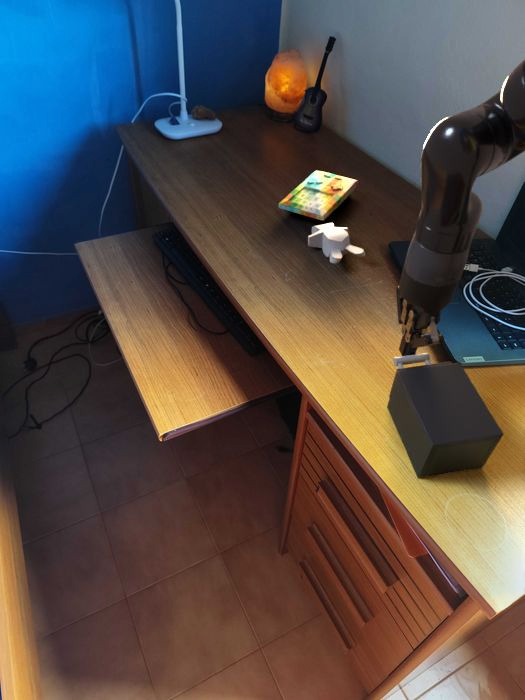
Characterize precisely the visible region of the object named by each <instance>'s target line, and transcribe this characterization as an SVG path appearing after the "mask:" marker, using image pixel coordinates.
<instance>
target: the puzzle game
mask: <svg viewBox="0 0 525 700" xmlns="http://www.w3.org/2000/svg"><path fill="white" fill-rule="evenodd" d="M358 185H359V180H358V179H353V178H349V177H345V176H341V175H338V174H334V173H330V172H326V171H323V170H322V171H321V170H318V169H317V170H315V171H314V172H312V173H311V174H310V175H309V176H308V177H307V178H305V180H303V181H302V182H301V183H300V184H299V185H298V186H297V187H295V188H294V189H293V190H292V191H291V192H290V193H288V195H287V196H285V197H284V198H283V199H282V200H281V201H279V203H278V205H277V206H278V207H277V208H278V209H281V210H285V211H289V212H292V213H296V214H299V215H301V216H305V217H309V218H312V219H315V220H319V221H323V222H325V220H327V219H328V218H329V217H330V215H331V214H332V213H333V212H334V211H335V210H337V208H339V207H340V205H342V203H343V202H344V201H345V200H346V199H347V198H349V196H350V195H351V194H352V193H353V192H354V191H355V190H356V189H357V187H358Z"/></svg>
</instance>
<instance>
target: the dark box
mask: <svg viewBox="0 0 525 700" xmlns="http://www.w3.org/2000/svg"><path fill="white" fill-rule="evenodd" d="M395 374H396V373H395ZM394 378H395V377H394ZM393 382H394V385H393V384H392V385H393V388H392V387H391V389H392V392H391V391H390V392H391V395H390V394H389V396H390V398H389V399H388V403H387V406H386V408H387V411H388V412H389V415H390V417H391V419H392V422H393V424H394V427H395V429H396V431H397V433H398V436H399V438H400V440H401V443H402V445H403V447H404V450H405V452H406V455H407V457H408V459H409V461H410V463H411V466H412V468H413V471H414V473H415V475H416V477H417V479H424V478H430V477H434V476H435V477H436V476H442V475H446V474H447V475H448V474H454V473H460V472H466V471H472V470H479V469H483V468H484V467H485V465H486V463H487V462H488V460H489V458H490V457H491V455H492V454H493V453H494V450H495V449H496V448H497V446H498V444H499V442H500V441H501V439H502V437H503V436H504V432H503V430H502V428H501V427H500V426H499V424H498V422H497V421H496V419H495V417H494V416H493V414H492V413H491V411H490V410H489V408H488V406H487V404H486V403H485V401H484V400H483V398H482V396H481V395H480V393H479V392H478V390H477V388H476V387H475V385H474V384H473V382H472V380H471V379H470V377H469V375H468V373H467V372H466V370H465V369H464V368H463V365H462V364H461V362H456V363H452V364H447V365H440V366H433V367H426V368H419V369H411V370H404V371H398V372H397V374H396V378H395V381H394V380H393Z"/></svg>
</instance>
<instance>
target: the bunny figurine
mask: <svg viewBox="0 0 525 700" xmlns="http://www.w3.org/2000/svg"><path fill="white" fill-rule="evenodd" d="M307 246H309V247H311V248H312V247H313V248H318V249H322V252H323V253H322V254H323V255H324V256H325V257H326V258H329V262H330V263H331V264H338V263H340V262H341V260H342V258H343V256H344V255H346V254H348V253H351V254H352V255H354V256H356V257H359V258H364V257H365V256H366V252H365V250H364V248H362V247H358V246H354V245H352V244H351V240H350V234H349V228H348V227H343V226H342V227H341V226H335V224H334V223H333V222H327V223H324V224H323V223H322V224H318V225H313V226H311V234H309V235H307Z"/></svg>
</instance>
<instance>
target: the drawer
mask: <svg viewBox="0 0 525 700" xmlns="http://www.w3.org/2000/svg"><path fill="white" fill-rule="evenodd" d="M392 363H393V366H395V367H397V369H396V371H395V374H394V379H393V382H392V385H391V389H390V392H389V396H388V398H389V399H390V395H391V392H392V388H393V385H394V381H395V378H396V374H397V372H398V371H404V370H411V369H419V368H426V367H433V366H440V365H447V364H453V363H452V361H444V362H436V363H432V362H431V355H430V354H429V352H422V353H416V354H414V355H407V356H402V355H400V356H394V357H393V358H392ZM420 363H424V364H422V365H421V364H420ZM413 364H414V365H415V364H420V365H415V366H408V367H404V366H406V365H413Z"/></svg>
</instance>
